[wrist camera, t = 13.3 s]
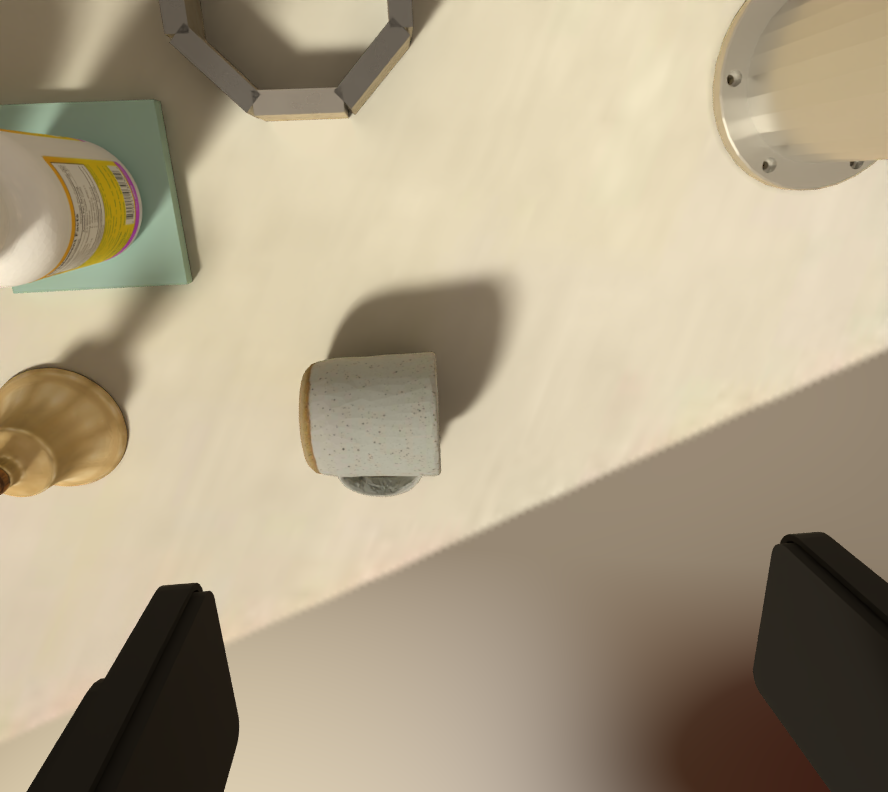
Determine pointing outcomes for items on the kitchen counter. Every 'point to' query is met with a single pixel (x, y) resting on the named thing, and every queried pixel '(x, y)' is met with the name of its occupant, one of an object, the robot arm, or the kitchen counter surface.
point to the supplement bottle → (61, 206)
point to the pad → (148, 161)
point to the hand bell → (56, 432)
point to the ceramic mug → (372, 421)
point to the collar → (290, 104)
